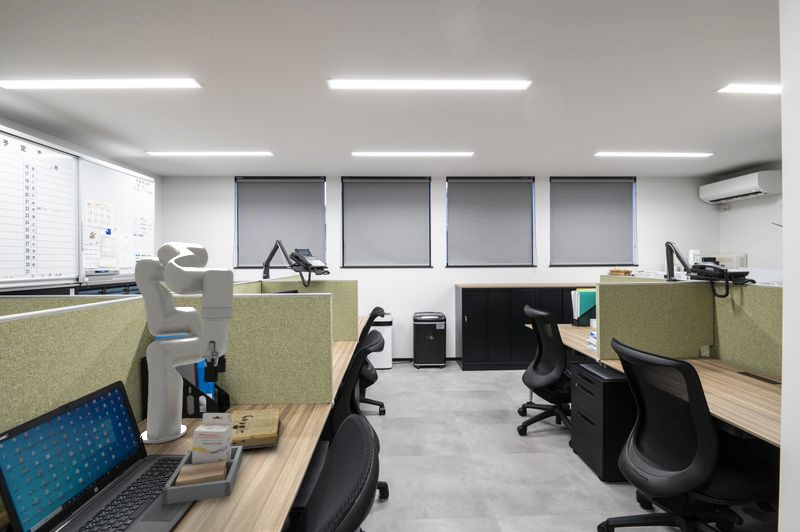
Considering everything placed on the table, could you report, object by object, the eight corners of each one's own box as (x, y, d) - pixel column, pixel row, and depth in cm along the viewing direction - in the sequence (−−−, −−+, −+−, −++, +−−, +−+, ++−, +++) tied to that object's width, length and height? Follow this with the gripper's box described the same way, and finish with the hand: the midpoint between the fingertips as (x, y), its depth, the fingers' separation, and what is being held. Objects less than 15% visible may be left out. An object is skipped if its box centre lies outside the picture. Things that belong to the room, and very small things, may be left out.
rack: (187, 465, 99) (188, 450, 99) (242, 459, 103) (242, 445, 103) (161, 508, 81) (162, 490, 81) (229, 499, 84) (229, 481, 85)
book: (231, 425, 126) (232, 408, 127) (281, 421, 131) (281, 404, 131) (216, 460, 103) (217, 439, 103) (277, 453, 107) (278, 433, 107)
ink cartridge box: (190, 476, 94) (192, 419, 94) (200, 466, 99) (202, 412, 99) (223, 476, 94) (225, 419, 95) (231, 466, 99) (233, 412, 100)
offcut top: (181, 474, 89) (181, 467, 89) (225, 467, 93) (225, 460, 93) (175, 490, 83) (175, 482, 83) (223, 481, 87) (223, 473, 87)
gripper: (209, 311, 105) (208, 370, 105) (192, 317, 89) (190, 387, 88) (237, 310, 107) (235, 368, 107) (225, 316, 91) (223, 385, 90)
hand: (215, 376), depth 97 cm, fingers open, 9 cm apart
